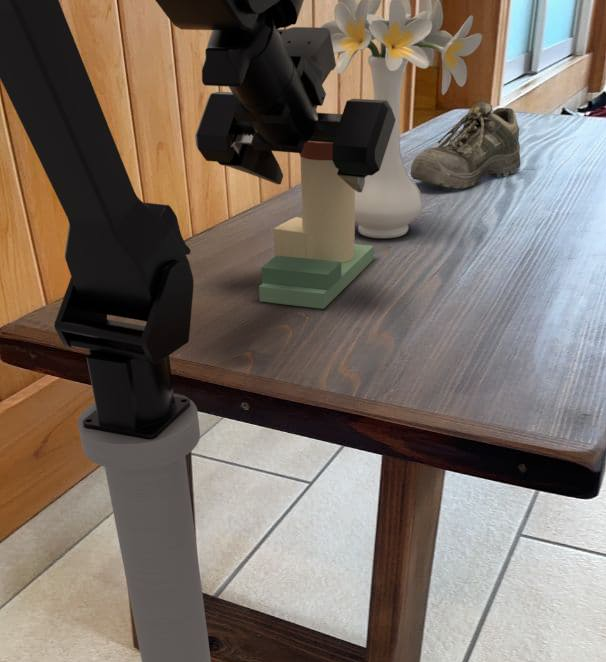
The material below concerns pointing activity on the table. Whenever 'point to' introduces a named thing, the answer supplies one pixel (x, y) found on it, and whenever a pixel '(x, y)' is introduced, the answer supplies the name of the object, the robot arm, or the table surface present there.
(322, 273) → the green stepped slab
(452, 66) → the flower vase
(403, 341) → the table surface
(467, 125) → the hiking shoe
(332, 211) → the brown-capped cream cylinder
